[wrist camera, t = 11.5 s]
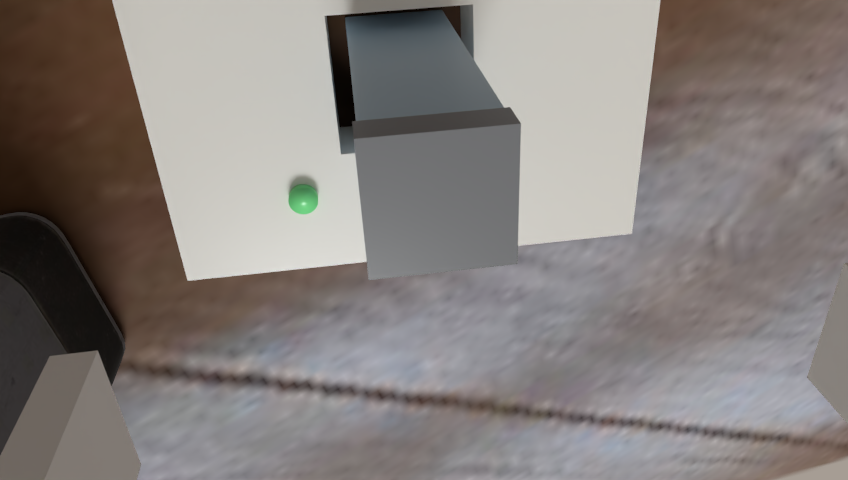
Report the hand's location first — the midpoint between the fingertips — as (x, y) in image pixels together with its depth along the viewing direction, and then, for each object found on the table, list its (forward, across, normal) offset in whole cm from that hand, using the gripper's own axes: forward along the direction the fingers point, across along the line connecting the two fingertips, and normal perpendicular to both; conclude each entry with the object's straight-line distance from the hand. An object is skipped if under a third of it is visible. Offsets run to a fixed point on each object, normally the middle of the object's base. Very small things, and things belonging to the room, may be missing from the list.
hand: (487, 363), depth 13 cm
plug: (+20, 0, 0) cm, 20 cm away
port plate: (+20, 0, 0) cm, 20 cm away
